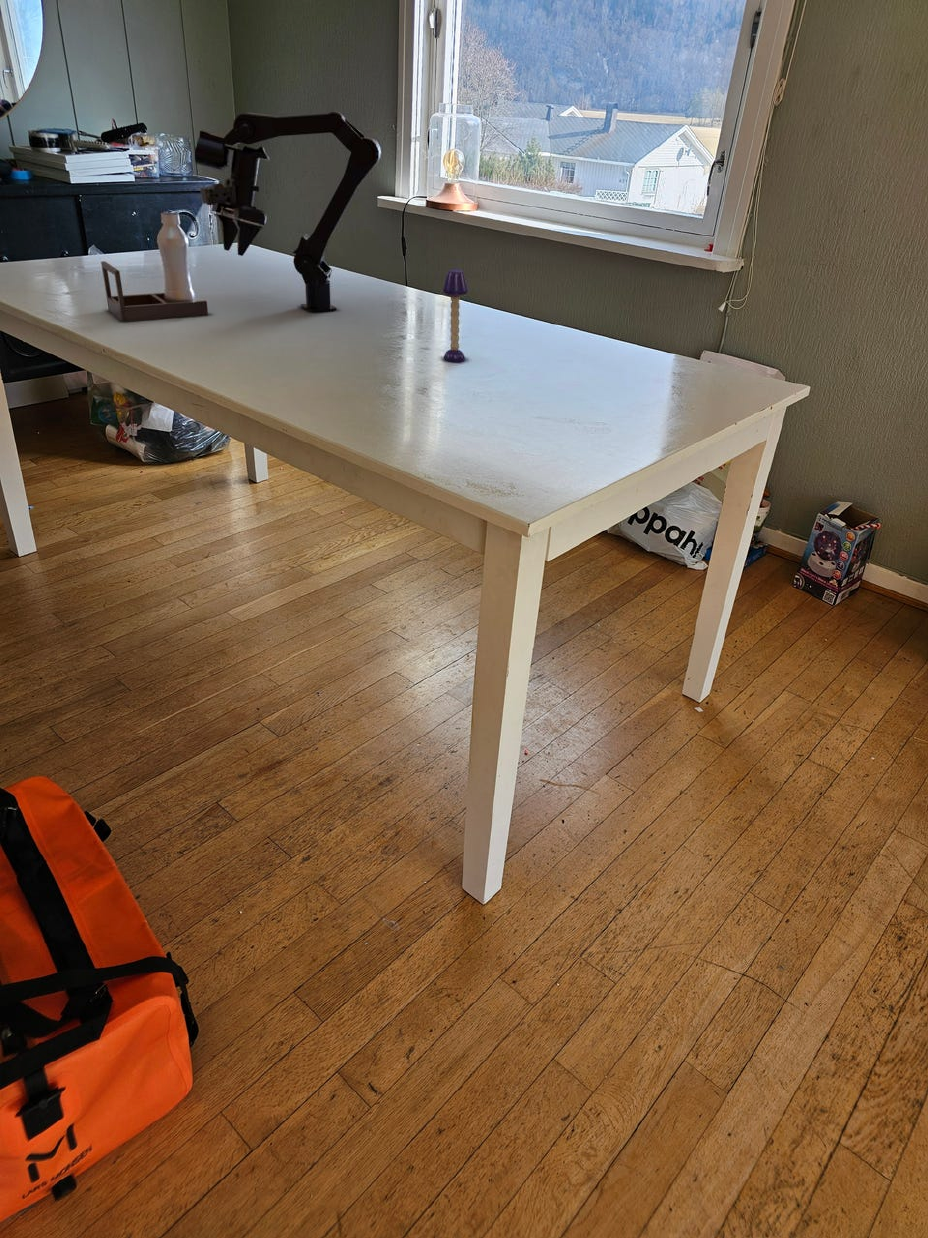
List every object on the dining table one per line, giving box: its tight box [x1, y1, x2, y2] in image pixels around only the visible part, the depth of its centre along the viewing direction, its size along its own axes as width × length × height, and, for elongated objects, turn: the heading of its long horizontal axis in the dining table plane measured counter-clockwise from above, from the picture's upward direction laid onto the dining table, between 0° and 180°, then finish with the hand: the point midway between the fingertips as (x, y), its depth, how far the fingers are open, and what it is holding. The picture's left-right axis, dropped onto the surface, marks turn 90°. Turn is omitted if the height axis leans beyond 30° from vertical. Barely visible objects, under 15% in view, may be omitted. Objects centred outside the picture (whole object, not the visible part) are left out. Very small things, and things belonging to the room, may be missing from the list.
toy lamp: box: [442, 269, 468, 363], centre depth 166 cm, size 5×5×17 cm
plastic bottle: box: [156, 212, 197, 303], centre depth 186 cm, size 6×7×20 cm
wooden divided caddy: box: [100, 260, 209, 323], centre depth 187 cm, size 11×19×10 cm, turn 124°
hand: (233, 252), depth 192 cm, fingers open, 9 cm apart
